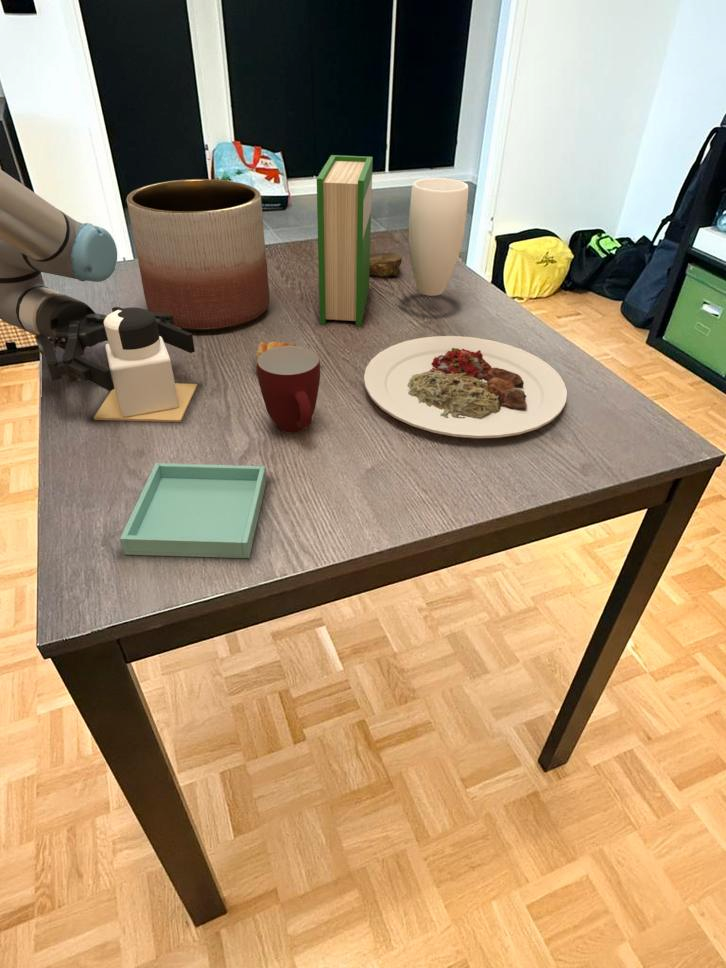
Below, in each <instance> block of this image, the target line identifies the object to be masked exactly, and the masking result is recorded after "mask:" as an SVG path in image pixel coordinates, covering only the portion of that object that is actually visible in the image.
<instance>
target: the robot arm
mask: <svg viewBox="0 0 726 968" xmlns="http://www.w3.org/2000/svg"><path fill="white" fill-rule="evenodd" d="M117 261H118V249H117V244H116V242H115V239H114V237H113V236H112V235H111V233H110V232H109V231H108V230H107V229H105V228H103V227H101V226H99V225H94V224H92V223H89V222H84V223H82V222H80V221H77V220H76V219H74V218H73V217H71V216H69V215H68V214H66V213H65V212H63V211H62V210H60V209H59V208H57V207H56V206H55V205H53V204H51V203H50V202H48V201H47V200H45V199H44V198H43V197H42V196H39V194H37V193H35V191H33V190H31V189H30V188H28V187H27V186H25V185H24V184H22V183H21V182H20V181H18V180H17V179H15V178H14V177H12V176H11V175H10V174H8V173H7V172H5V171H4V170H2V169H0V320H1V321H2V322H4V323H5V324H8V325H11V326H13V327H15V328H19V329H20V330H23V331H25V332H28V333H29V334H30V335H34V339H35V341H36V344H37V348H38V350H39V354H41V355H42V356H44V358H45V362H46V365H47V368H48V371H49V374H50V378H51V380H52V381H55V382H57V381H60V380H62V379H63V377H62V376H67V378H68V382H69V383H75V382H77V381H79V380H80V381H82V382H90V383H92V384H94V385H96V386H98V387H100V388H102V389H105V390H106V391H108V392H111V391H112V390H113V389H114V383H113V379H112V375H111V371H110V369H108V368H106V367H104V366H102V365H100V364H98V363H96V362H93V361H92V360H90V359H88V358H86V357H84V354H85V350H86V349H87V348H88V347H89V348H92V347H94V346H96V345H98V344H101V343H105V342H108V338H107V334H106V330H105V326H104V320H105V318H106V317H107V315H106V314H103V313H102V314H101V313H96V312H95V311H94V310H93V308H92V307H90V306H89V305H88V304H87V303H85V302H83V301H82V300H79V299H77V298H74V297H72V296H69V295H68V294H66V293H63V292H60V291H58V290H56V289H53V288H50V287H48V286H46V285H45V281H44V278H43V275H42V273H43V274H49V275H54V276H60V277H64V278H69V279H74V280H78V281H80V282H85V281H87V282H94V283H101V282H103V281H106V280H107V279H109V278H110V277H111V276H112V275H113V273H114V271H115V270H116V265H117ZM123 308H124V307H119V306H114V307H112V308H111V313H112V312H114V311H117V310H119V309H123ZM152 313H153V314H154V315H155V317H156V322H157V327H158V332H159V336H161V337H162V338H163V341H164V344H167V345H170V346H172V347H175V348H177V349H180V350H181V351H184V352H186V353H189V354H193V353H195V352H196V350H195V343H194V337H193V333H192V332H190V331H187V330H182V329H181V328H179V327H177V326H175V325H174V320H173V315H172V314H169V313H158V312H152ZM57 348H60V349H62V350H63V351H64V352H63V355H62V358H61V359H62V360H61V361H58V359H57V355H56V353H57V351H56V349H57Z"/></svg>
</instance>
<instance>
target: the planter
mask: <svg viewBox="0 0 726 968" xmlns="http://www.w3.org/2000/svg"><path fill="white" fill-rule="evenodd" d="M262 202H263V201H262V194H261V192H260V191H259V190H258V189H257V188H255V187H253V186H252V185H249V184H246V183H242V182H237V181H232V180H224V179H213V178H212V179H208V178H192V179H190V178H189V179H177V180H168V181H167V180H166V181H161V182H157V183H152V184H148V185H144V186H142V187H139V188H136V189H134V190H132V191H131V192H130V193H128V194H127V196H126V204H127V210H128V215H129V220H130V226H131V229H132V230H131V231H132V235H133V236H132V237H133V241H134V247H135V251H136V257H137V261H138V268H139V273H140V279H141V285H142V289H143V295H144V301H145V305H146V308H147V310H149V311H151V312H158V313H169V314H172V315H173V320H174V325H175V326H177V327H179V328H181V329H182V330H184V331H188V332H217V331H224V330H229V329H234V328H237V327H240V326H243V325H246V324H248V323H251V322H252V321H254V320H256V319H257V318H259V317H260V316H261V315H262V314H264V313H265V312H266V310H267V309H268V308H269V305H270V283H269V276H268V275H269V273H268V263H267V262H268V261H267V251H266V240H265V229H264V217H263V205H262V204H263V203H262Z"/></svg>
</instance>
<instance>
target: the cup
mask: <svg viewBox="0 0 726 968" xmlns="http://www.w3.org/2000/svg"><path fill="white" fill-rule="evenodd" d="M468 200H469V185H468V183H466V182H465V181H462V180H458V179H453V178H445V177H425V178H420V179H417V180H415V181H413V182H412V185H411V194H410V203H409V214H408V248H409V258H410V264H411V270H412V274H413V278H414V281H415V285H416V289H417V291H418V292H419V293H420V294H421V295H425V296H432V297H433V296H434V297H435V296H439V295H442V294H443V293H444V292H445V290H446V288H447V286H448V284H449V282H450V280H451V278H452V275H453V273H454V271H455V268H456V265H457V262H458V259H459V255H460V253H461V249H462V245H463V241H464V235H465V227H466V222H467V213H468V212H467V211H468Z"/></svg>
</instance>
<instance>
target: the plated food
mask: <svg viewBox="0 0 726 968" xmlns="http://www.w3.org/2000/svg"><path fill="white" fill-rule="evenodd" d="M363 381H364V386H365V390H366V392H367V394H368V396H369V397H370V399H371V400H372V401H373V402H374V404H376V406H378V407H379V408H380V409H381V410H382V411H383V412H385V413H387V414H388V415H389V416H391V417H393V418H394V419H396V420H399V421H400V422H402V423H405V424H407V425H409V426H411V427H414V428H418V429H421V430H424V431H428V432H430V433H433V434H439V435H445V436H451V437H455V438H469V439H494V438H495V439H497V438H498V439H499V438H505V437H512V436H518V435H522V434H525V433H529V432H532V431H535V430H538V429H540V428H542V427H544V426H545V425H547V424H549V423H551V422H553V420H555V418H557V417H558V416H559V415H560V414H561V413H562V411H563V409H564V407H565V405H566V403H567V397H568V390H567V388H566V384H565V382H564V380H563V378H562V377H561V375H560V374H559V372H557V370H555V369H554V368H553V367H552V366H551V365H550V364H549V363H548V362H546V361H544V360H543V359H541V358H540V357H538V356H537V355H534V354H533V353H530V352H528V351H526V350H524V349H521V348H519V347H516V346H514V345H511V344H508V343H504V342H501V341H496V340H492V339H487V338H481V337H480V338H479V337H474V336H473V337H472V336H460V335H435V336H426V337H425V336H424V337H419V338H413V339H409V340H404V341H402V342H399V343H397V344H394V345H391V346H389V347H387V348H385V349H383V350H381V351H380V352H378V353H377V354H376V355H375V356H374V357H373V358H372V359H371V360H370V361H369V362H368V364H367V366H366V367H365V370H364V375H363Z"/></svg>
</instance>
